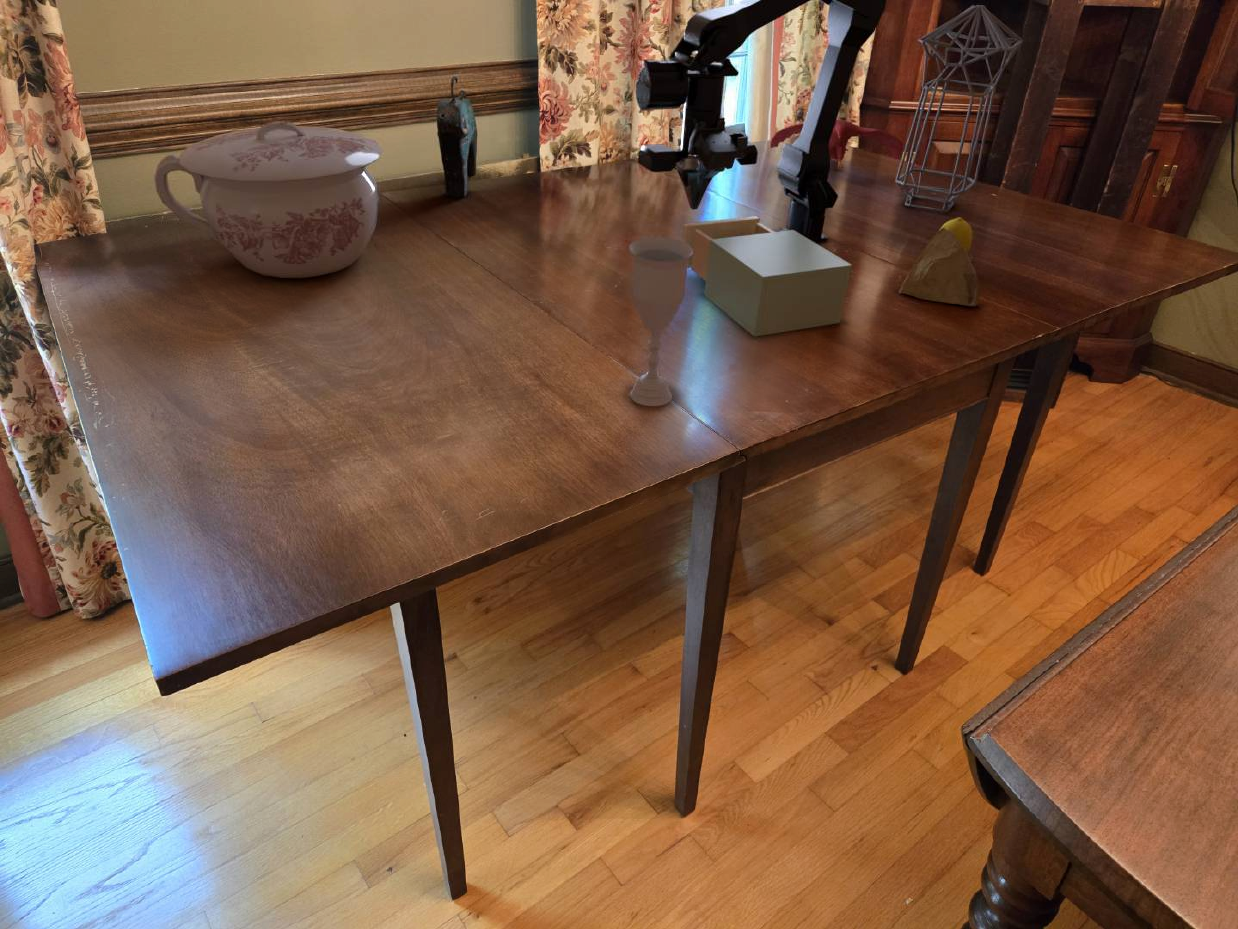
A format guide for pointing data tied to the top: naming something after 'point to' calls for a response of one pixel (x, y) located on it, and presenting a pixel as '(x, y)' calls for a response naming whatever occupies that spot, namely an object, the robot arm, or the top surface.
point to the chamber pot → (282, 196)
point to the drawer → (716, 237)
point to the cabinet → (776, 282)
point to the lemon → (960, 231)
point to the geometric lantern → (934, 39)
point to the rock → (943, 273)
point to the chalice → (657, 304)
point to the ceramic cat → (457, 141)
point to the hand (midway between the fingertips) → (693, 208)
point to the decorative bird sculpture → (844, 138)
